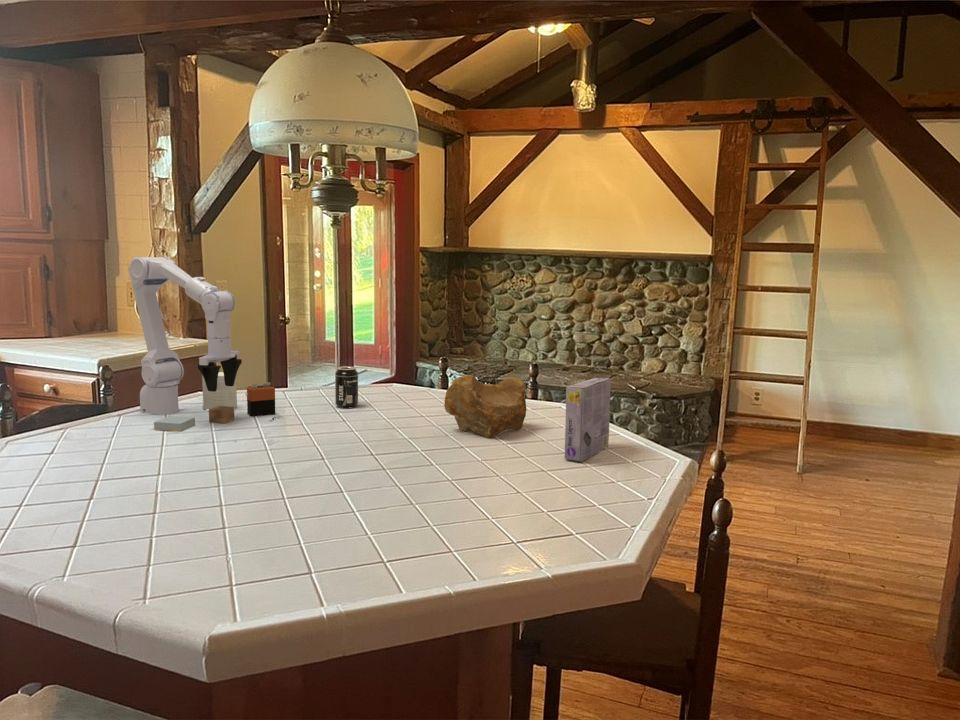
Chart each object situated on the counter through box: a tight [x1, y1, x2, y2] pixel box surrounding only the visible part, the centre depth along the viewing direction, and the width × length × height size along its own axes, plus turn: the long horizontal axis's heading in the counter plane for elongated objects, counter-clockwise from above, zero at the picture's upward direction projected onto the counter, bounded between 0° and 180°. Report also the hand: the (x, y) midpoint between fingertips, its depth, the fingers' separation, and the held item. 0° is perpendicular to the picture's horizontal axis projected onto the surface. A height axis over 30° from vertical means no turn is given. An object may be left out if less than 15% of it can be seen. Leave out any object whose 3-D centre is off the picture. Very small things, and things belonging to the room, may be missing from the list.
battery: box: [246, 382, 276, 420], centre depth 196 cm, size 4×7×10 cm, turn 122°
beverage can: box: [334, 365, 359, 409], centre depth 215 cm, size 7×7×12 cm
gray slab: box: [153, 415, 196, 432], centre depth 180 cm, size 7×7×2 cm
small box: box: [201, 371, 238, 410], centre depth 208 cm, size 8×6×10 cm
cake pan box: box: [564, 377, 612, 463], centre depth 170 cm, size 19×5×18 cm, turn 149°
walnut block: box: [208, 406, 235, 425], centre depth 188 cm, size 4×4×5 cm
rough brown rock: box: [444, 374, 527, 439], centre depth 188 cm, size 23×17×15 cm
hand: (221, 388), depth 186 cm, fingers open, 7 cm apart
